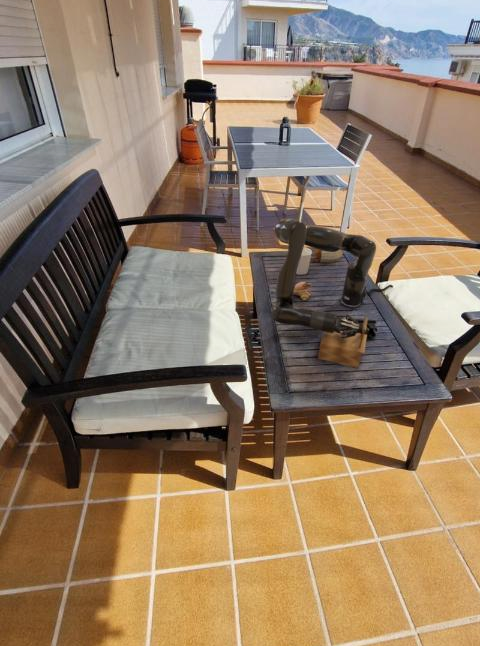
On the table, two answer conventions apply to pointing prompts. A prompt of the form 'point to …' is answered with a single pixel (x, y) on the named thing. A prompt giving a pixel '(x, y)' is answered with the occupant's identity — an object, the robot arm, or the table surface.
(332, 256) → the nautilus
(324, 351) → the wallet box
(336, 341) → the box lid
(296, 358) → the table surface
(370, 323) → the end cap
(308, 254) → the candle holder
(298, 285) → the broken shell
